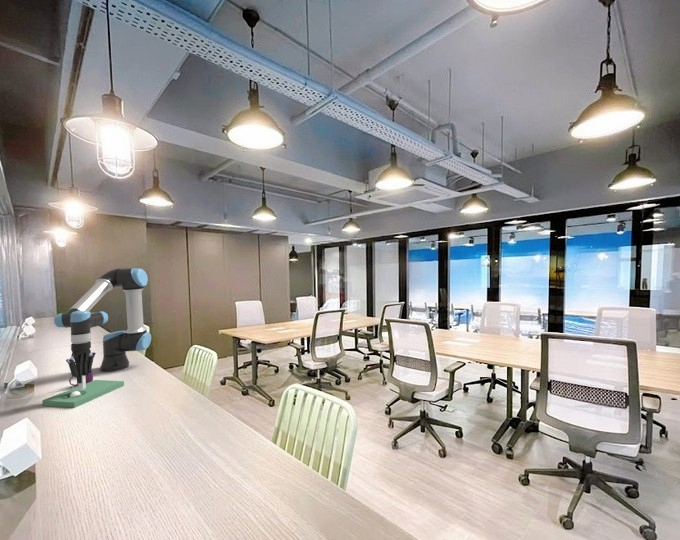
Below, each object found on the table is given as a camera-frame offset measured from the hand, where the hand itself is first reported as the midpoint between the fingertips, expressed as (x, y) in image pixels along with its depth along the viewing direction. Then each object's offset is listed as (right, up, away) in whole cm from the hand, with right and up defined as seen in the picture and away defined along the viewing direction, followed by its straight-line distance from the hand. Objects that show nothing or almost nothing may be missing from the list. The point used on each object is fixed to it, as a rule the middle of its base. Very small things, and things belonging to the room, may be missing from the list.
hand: (82, 388), depth 149 cm
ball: (0, -4, -3) cm, 5 cm away
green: (0, -4, +2) cm, 4 cm away
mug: (-13, -4, +14) cm, 20 cm away
